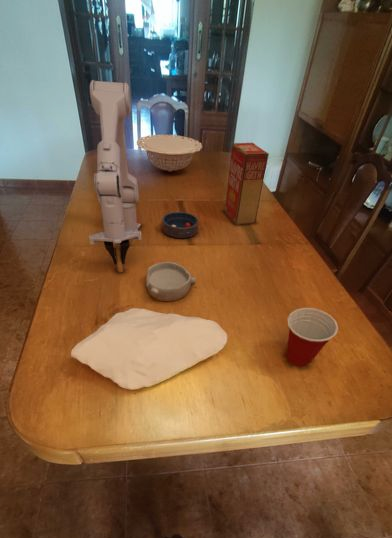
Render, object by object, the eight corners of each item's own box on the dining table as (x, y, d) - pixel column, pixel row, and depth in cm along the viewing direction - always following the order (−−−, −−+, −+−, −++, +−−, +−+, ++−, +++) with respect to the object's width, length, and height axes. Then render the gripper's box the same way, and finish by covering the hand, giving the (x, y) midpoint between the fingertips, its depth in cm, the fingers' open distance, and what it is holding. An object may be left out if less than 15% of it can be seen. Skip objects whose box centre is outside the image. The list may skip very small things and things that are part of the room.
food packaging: (222, 210, 134) (231, 142, 116) (243, 209, 136) (254, 141, 118) (235, 225, 125) (246, 153, 107) (256, 223, 128) (271, 153, 110)
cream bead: (170, 231, 117) (170, 225, 116) (171, 228, 119) (171, 223, 117) (175, 232, 117) (175, 226, 115) (177, 229, 118) (177, 224, 117)
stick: (116, 271, 98) (113, 248, 93) (118, 268, 100) (115, 245, 94) (121, 272, 98) (118, 249, 92) (124, 269, 99) (121, 246, 94)
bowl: (157, 235, 116) (157, 224, 113) (168, 220, 125) (168, 209, 122) (193, 242, 114) (194, 231, 111) (201, 225, 123) (202, 215, 120)
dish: (155, 308, 88) (154, 293, 84) (137, 280, 96) (136, 266, 92) (201, 295, 93) (202, 281, 89) (180, 270, 101) (181, 256, 97)
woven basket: (174, 158, 177) (174, 131, 168) (213, 175, 162) (216, 147, 153) (125, 168, 161) (122, 139, 152) (164, 188, 146) (164, 157, 137)
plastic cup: (270, 342, 81) (282, 306, 73) (310, 342, 83) (327, 306, 74) (281, 376, 74) (296, 340, 65) (325, 374, 75) (346, 339, 66)
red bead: (184, 229, 119) (184, 223, 117) (185, 226, 121) (185, 221, 119) (189, 230, 119) (190, 224, 117) (191, 227, 120) (191, 222, 119)
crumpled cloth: (75, 323, 80) (66, 298, 72) (208, 307, 87) (213, 282, 79) (79, 408, 67) (69, 389, 60) (234, 381, 74) (242, 360, 67)
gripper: (87, 227, 82) (95, 272, 92) (142, 223, 86) (145, 267, 96) (85, 216, 87) (93, 259, 97) (137, 212, 91) (140, 255, 100)
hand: (119, 262), depth 97 cm, fingers closed on stick, 2 cm apart
